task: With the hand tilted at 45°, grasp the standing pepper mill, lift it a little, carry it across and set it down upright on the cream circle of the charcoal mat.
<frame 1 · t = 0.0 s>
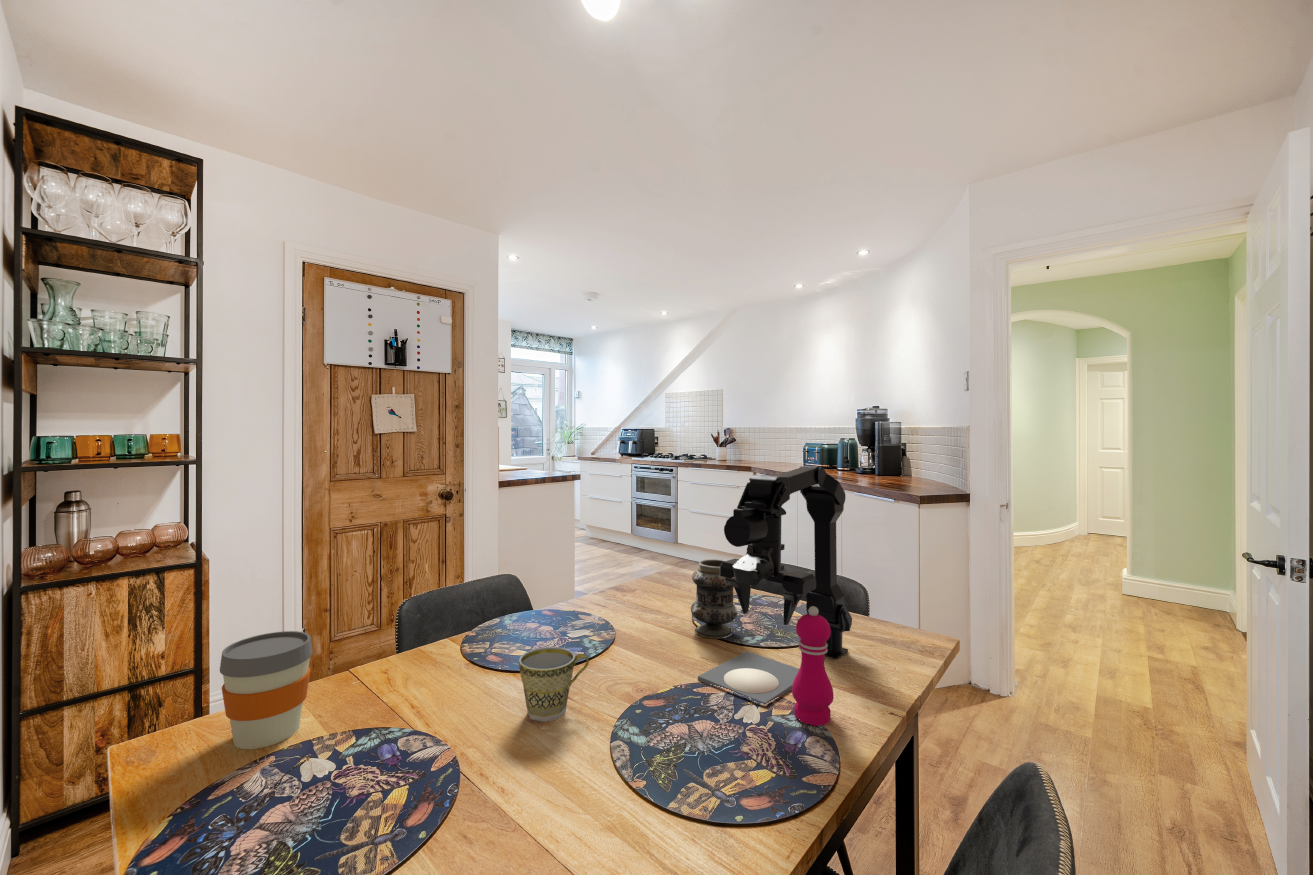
hand: (765, 618, 106), 15 cm above the table, tool pointing down, fingers open, 9 cm apart
apothecary jar: (714, 632, 139), on the table
reusable coffee cup: (267, 734, 90), on the table
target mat: (754, 677, 113), on the table
ceramic cup: (554, 711, 99), on the table
pepper mill: (812, 717, 97), on the table
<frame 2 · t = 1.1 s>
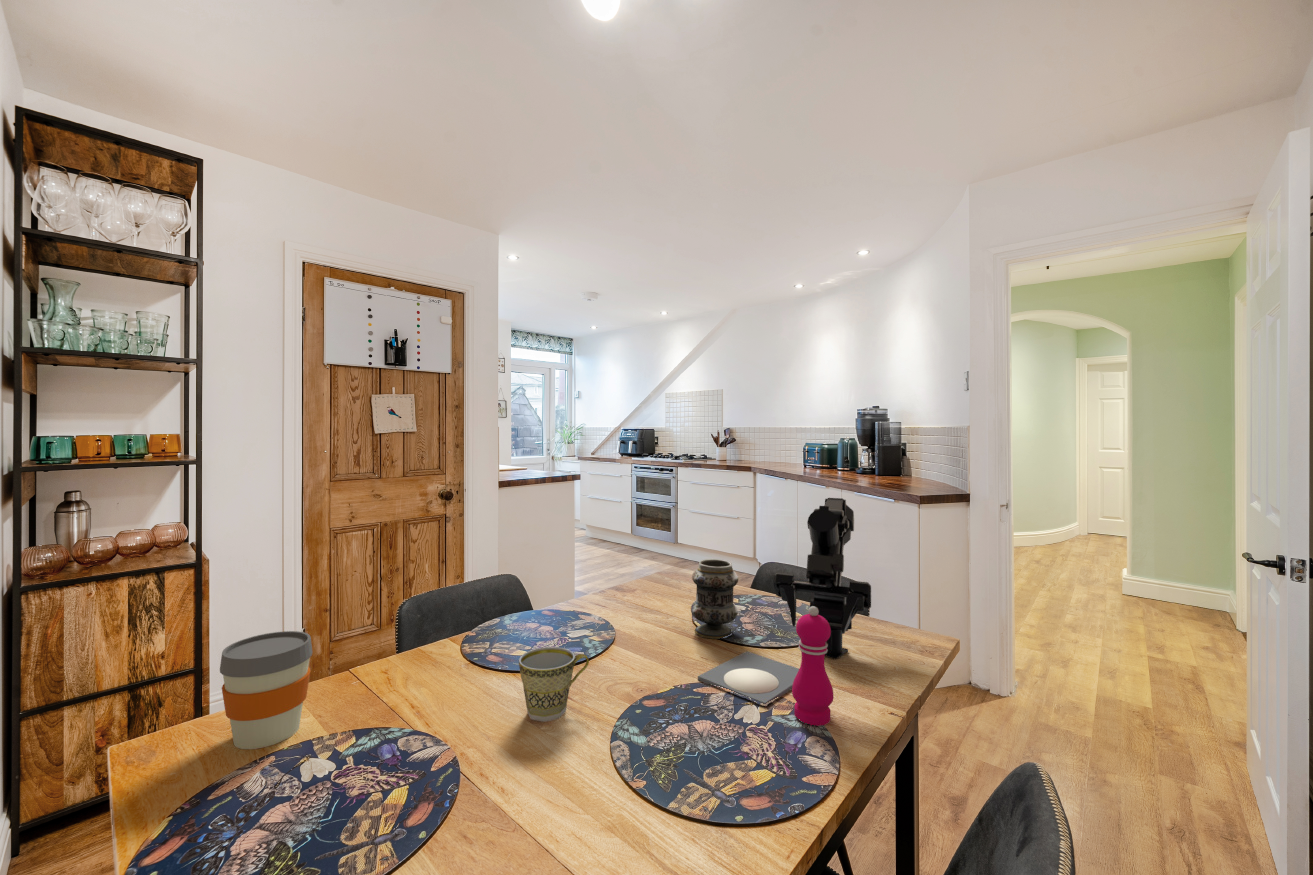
hand: (817, 628, 104), 13 cm above the table, tool tilted 45°, fingers open, 9 cm apart
nothing on the table moved.
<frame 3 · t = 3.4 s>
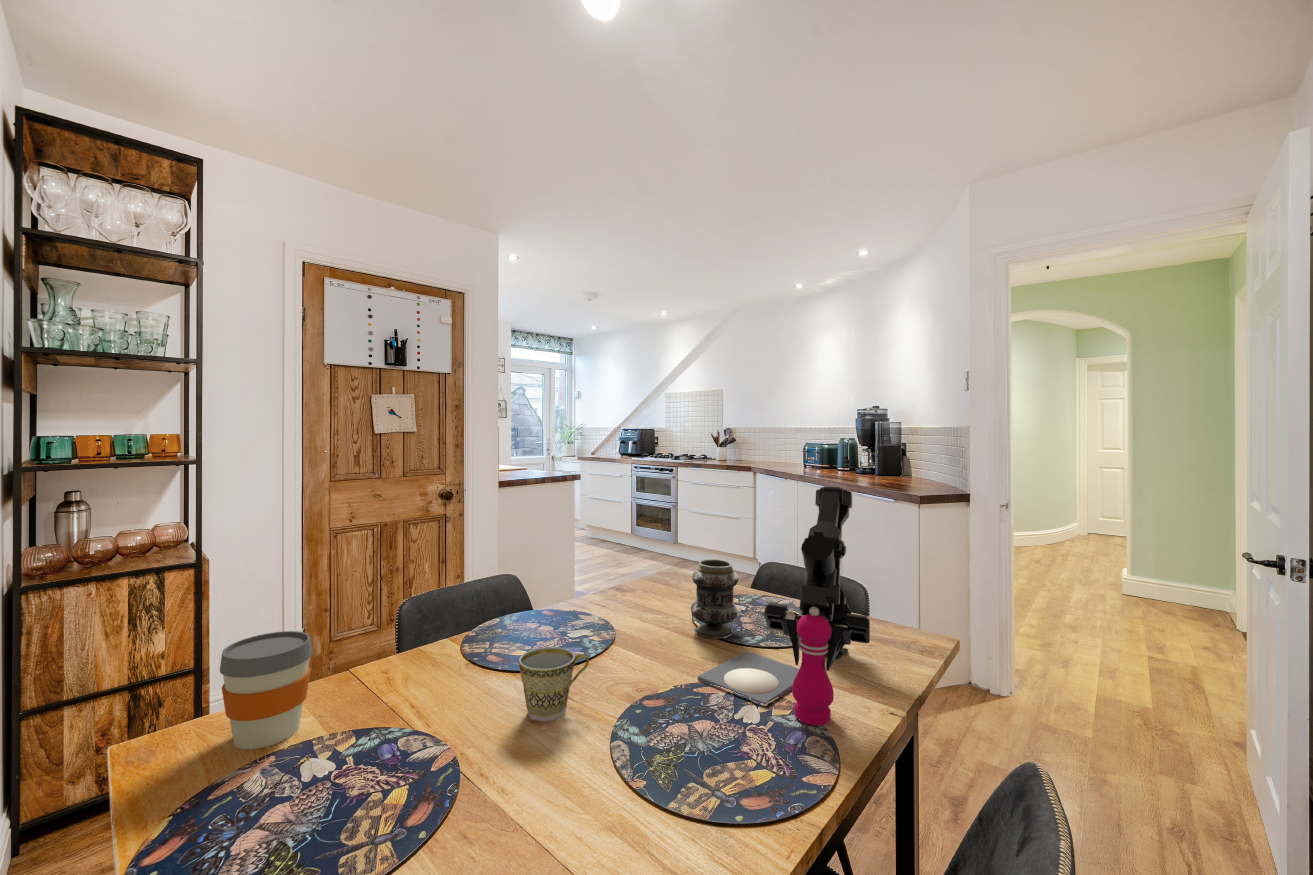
hand: (811, 666, 96), 10 cm above the table, tool tilted 45°, fingers closed on pepper mill, 5 cm apart
pepper mill: (812, 717, 97), on the table, touching gripper
everything else where it was.
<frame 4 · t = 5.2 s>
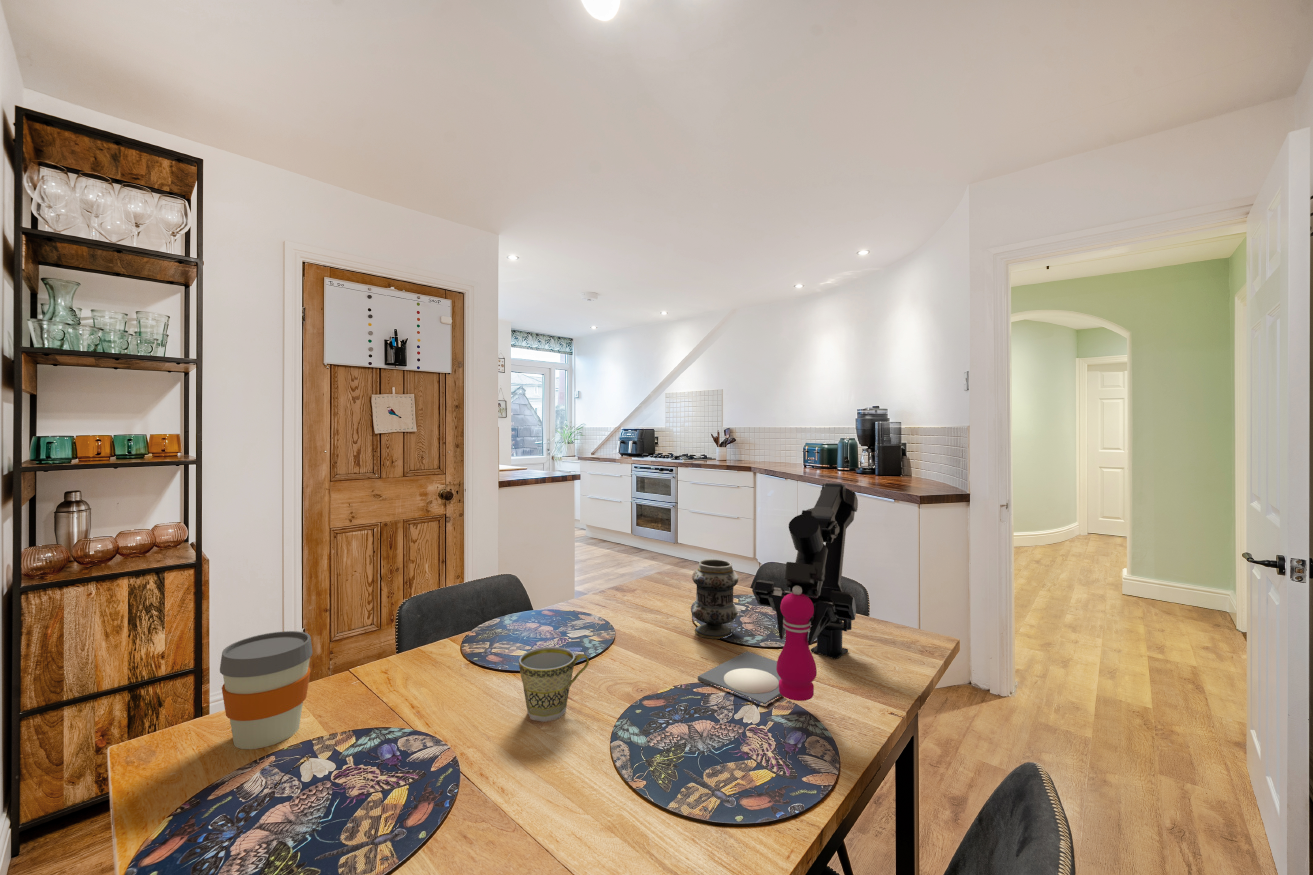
hand: (794, 641, 98), 13 cm above the table, tool tilted 45°, fingers closed on pepper mill, 5 cm apart
pepper mill: (796, 693, 100), point 3 cm above the table, touching gripper
everything else where it was.
when the fingers open (11 cm above the table, at t = 7.1 s): pepper mill stays where it is, resting on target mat.
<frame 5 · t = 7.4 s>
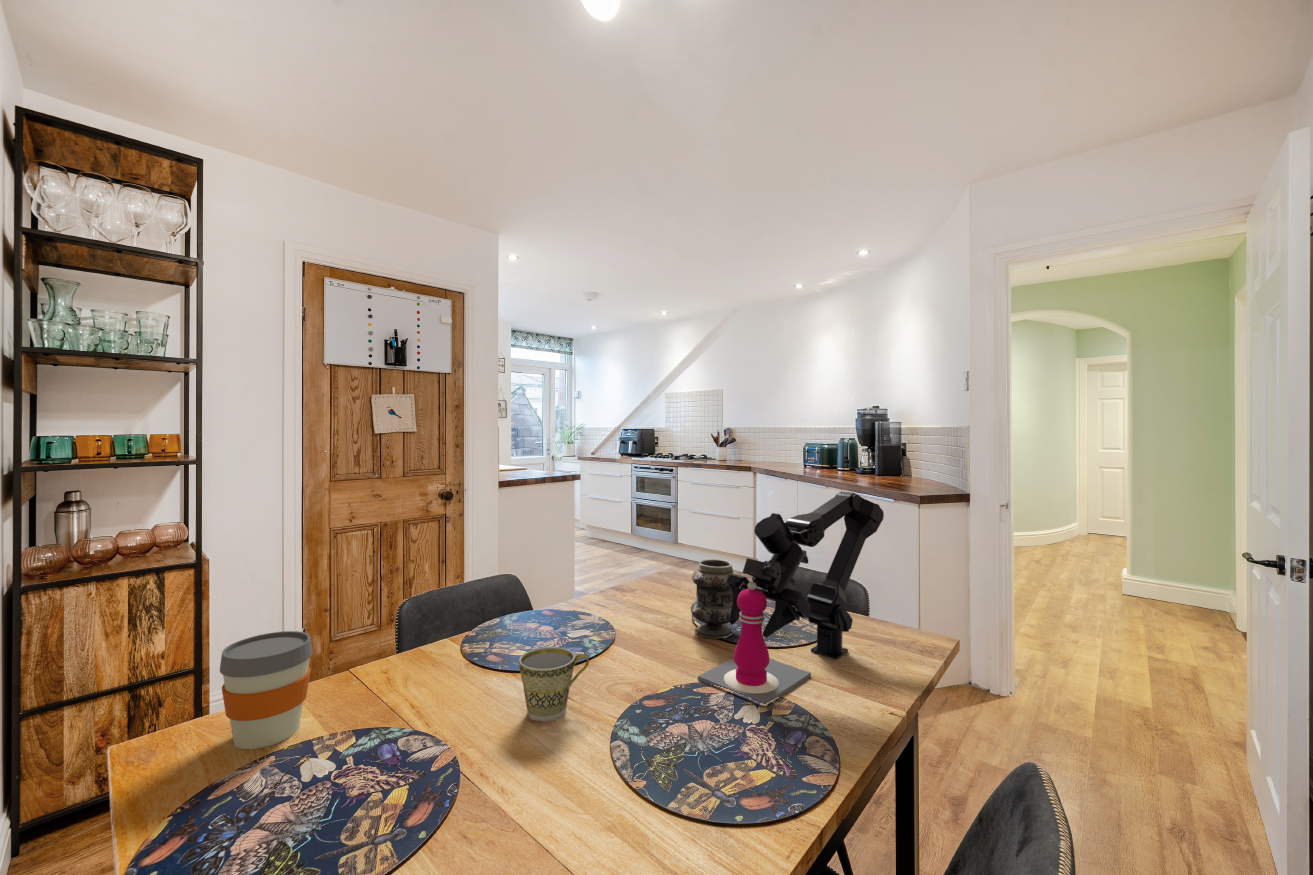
hand: (746, 629, 109), 11 cm above the table, tool tilted 45°, fingers open, 9 cm apart
pepper mill: (751, 680, 110), point 1 cm above the table, touching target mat
everything else where it was.
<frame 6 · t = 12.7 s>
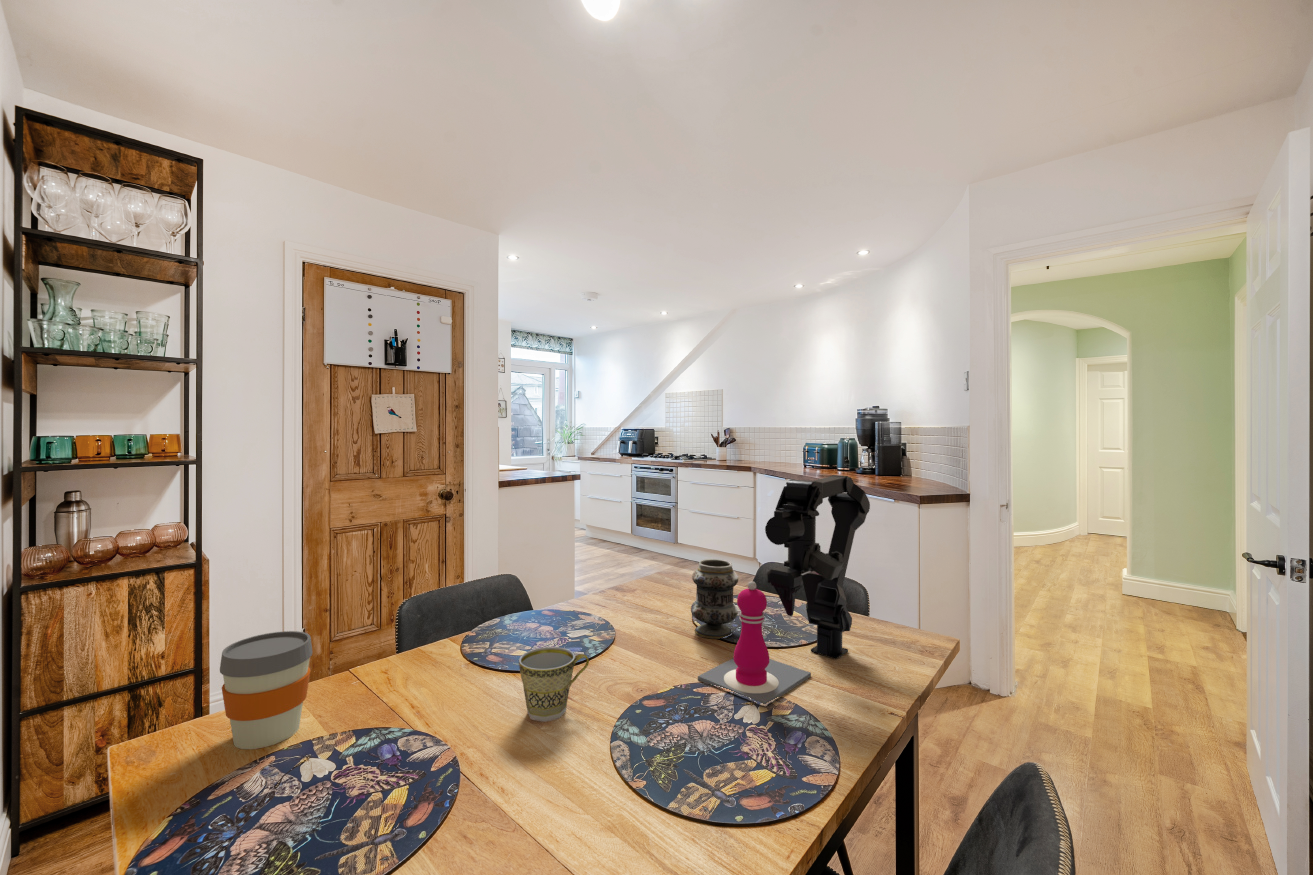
hand: (800, 610, 116), 13 cm above the table, tool pointing down, fingers open, 9 cm apart
nothing on the table moved.
at the end: pepper mill inside the target area on the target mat (2.8 cm from its centre), point 0.7 cm above the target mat's base; pepper mill tilted 0°; the gripper is holding nothing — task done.
